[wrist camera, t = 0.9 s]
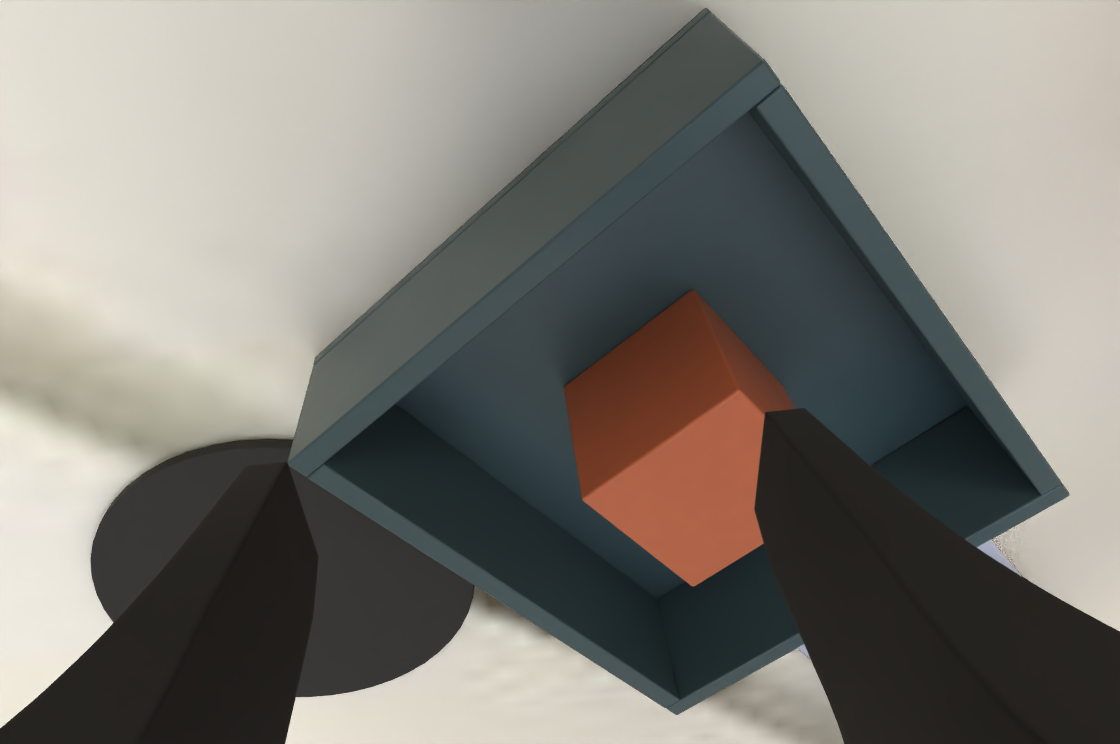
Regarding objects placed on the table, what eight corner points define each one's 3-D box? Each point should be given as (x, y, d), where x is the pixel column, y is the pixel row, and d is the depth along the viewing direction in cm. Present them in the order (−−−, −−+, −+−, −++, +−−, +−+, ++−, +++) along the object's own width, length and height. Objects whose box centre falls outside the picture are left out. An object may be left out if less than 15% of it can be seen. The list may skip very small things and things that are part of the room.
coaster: (547, 571, 28) (548, 580, 28) (318, 726, 32) (316, 735, 32) (254, 368, 22) (251, 376, 22) (18, 586, 26) (12, 596, 26)
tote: (986, 396, 25) (1071, 495, 22) (651, 605, 30) (676, 716, 26) (705, 6, 18) (764, 59, 14) (314, 357, 22) (285, 464, 19)
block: (784, 386, 24) (842, 496, 20) (659, 471, 25) (693, 588, 22) (692, 286, 22) (739, 389, 18) (562, 386, 23) (580, 500, 19)
